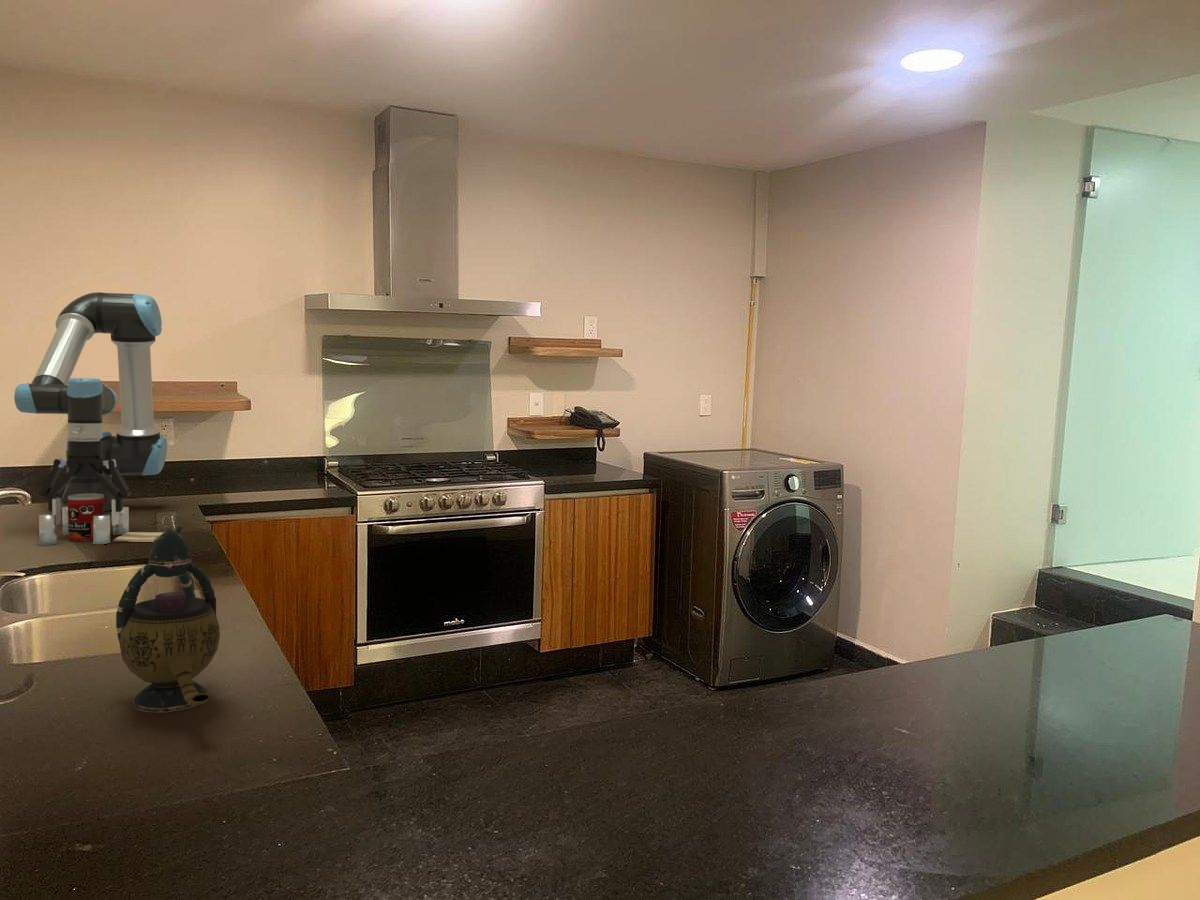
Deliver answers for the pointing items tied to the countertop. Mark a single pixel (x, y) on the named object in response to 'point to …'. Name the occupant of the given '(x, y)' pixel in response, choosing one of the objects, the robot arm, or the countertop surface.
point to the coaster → (139, 536)
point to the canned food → (83, 514)
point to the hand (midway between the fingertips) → (86, 524)
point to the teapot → (168, 630)
